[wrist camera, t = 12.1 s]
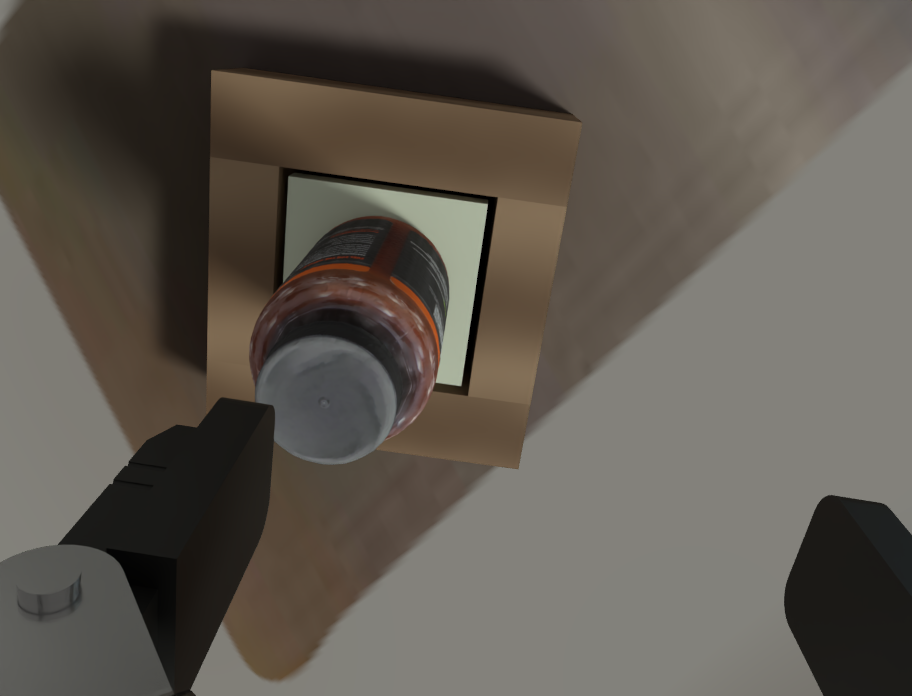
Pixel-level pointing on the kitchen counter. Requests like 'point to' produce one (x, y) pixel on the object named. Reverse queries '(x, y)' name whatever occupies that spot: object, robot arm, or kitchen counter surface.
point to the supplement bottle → (352, 340)
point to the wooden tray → (405, 162)
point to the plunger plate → (434, 214)
